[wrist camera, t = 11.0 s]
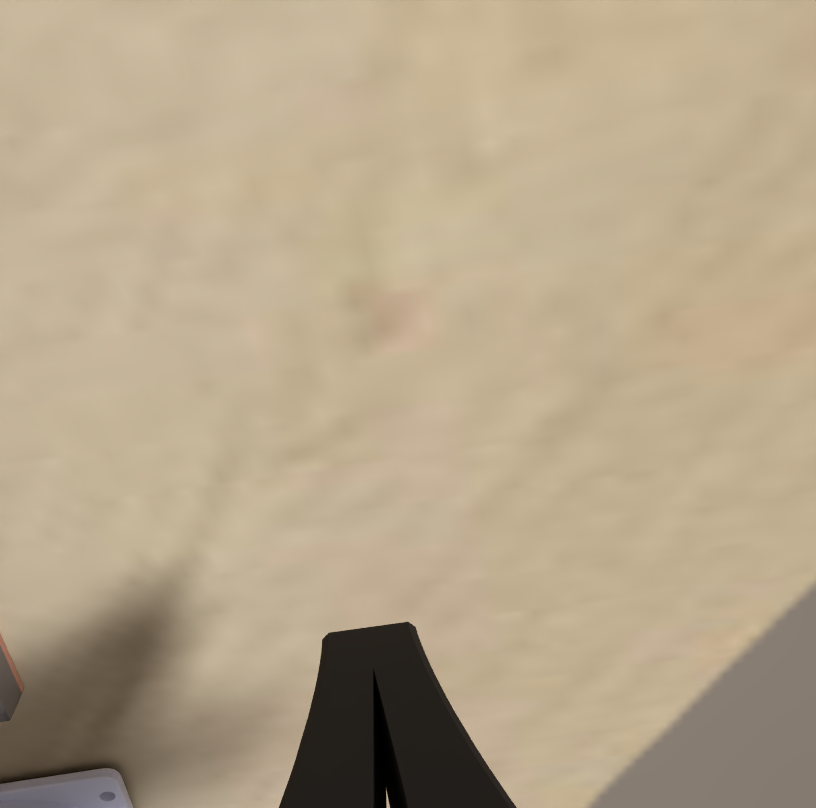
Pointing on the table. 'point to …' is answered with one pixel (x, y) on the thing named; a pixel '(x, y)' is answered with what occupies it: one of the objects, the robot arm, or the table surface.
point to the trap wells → (8, 685)
